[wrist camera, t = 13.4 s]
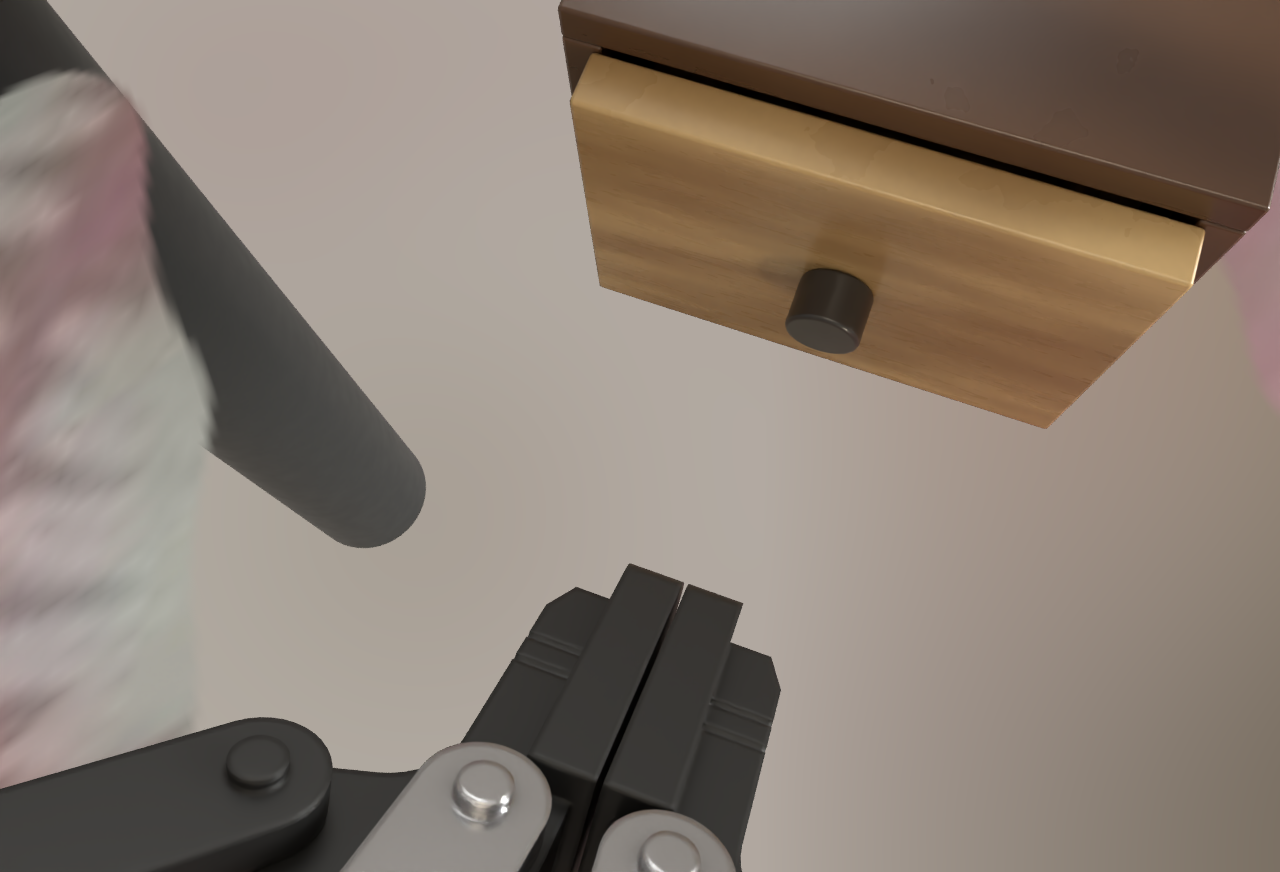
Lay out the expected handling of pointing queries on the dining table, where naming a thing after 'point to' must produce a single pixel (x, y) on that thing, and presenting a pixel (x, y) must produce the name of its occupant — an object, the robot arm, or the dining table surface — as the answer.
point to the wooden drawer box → (1005, 83)
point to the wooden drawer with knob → (867, 241)
